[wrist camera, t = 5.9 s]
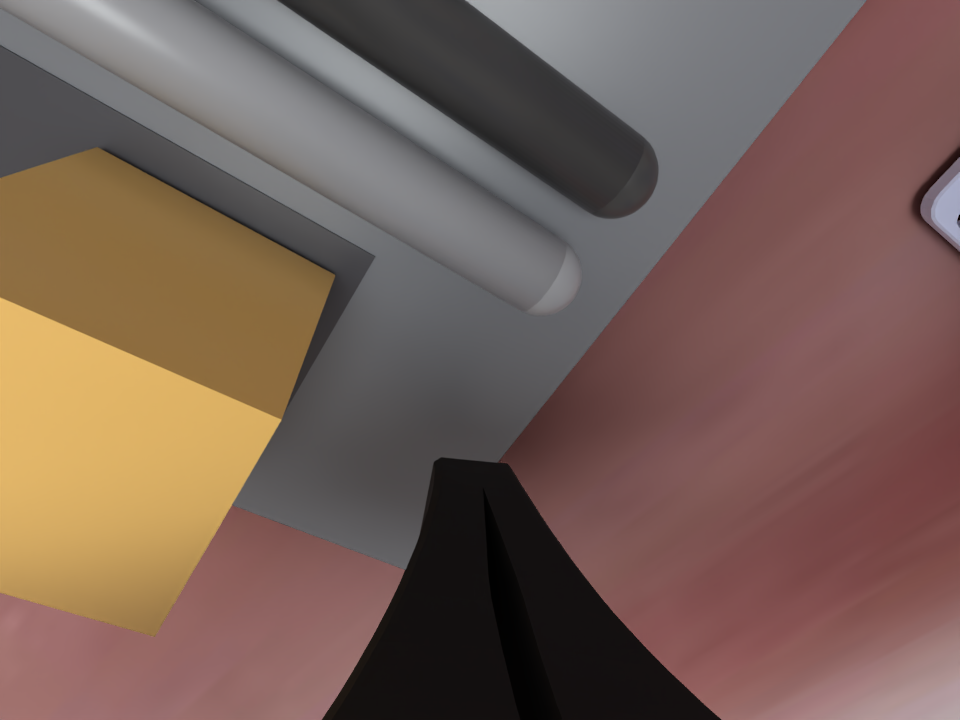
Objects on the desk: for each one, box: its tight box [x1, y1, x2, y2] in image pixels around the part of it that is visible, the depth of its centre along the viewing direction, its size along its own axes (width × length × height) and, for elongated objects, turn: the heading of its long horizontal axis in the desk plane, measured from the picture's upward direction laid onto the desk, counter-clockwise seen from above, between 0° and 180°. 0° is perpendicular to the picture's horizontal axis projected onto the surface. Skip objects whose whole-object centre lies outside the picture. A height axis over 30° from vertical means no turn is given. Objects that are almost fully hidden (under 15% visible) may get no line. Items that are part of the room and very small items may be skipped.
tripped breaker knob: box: [0, 147, 335, 637], centre depth 8 cm, size 4×4×4 cm
